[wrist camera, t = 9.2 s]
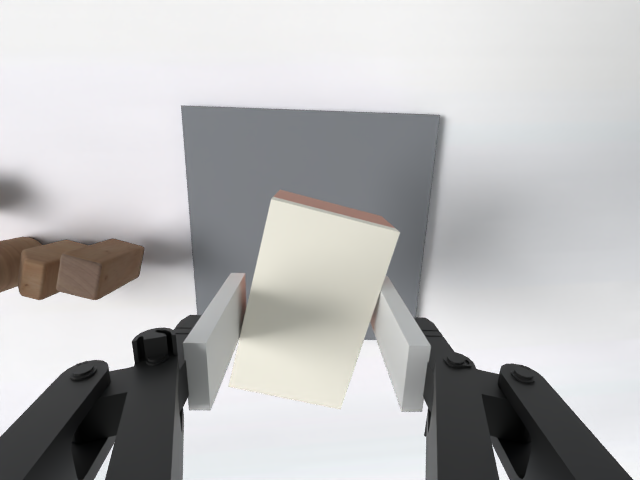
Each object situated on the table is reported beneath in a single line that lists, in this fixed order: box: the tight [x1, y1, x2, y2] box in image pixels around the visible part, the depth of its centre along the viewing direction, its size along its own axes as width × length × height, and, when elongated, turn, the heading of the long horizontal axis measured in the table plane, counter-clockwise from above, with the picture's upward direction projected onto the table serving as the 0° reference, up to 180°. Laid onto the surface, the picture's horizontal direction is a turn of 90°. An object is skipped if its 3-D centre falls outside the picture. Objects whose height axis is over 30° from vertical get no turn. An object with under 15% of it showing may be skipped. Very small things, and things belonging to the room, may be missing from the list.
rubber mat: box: [181, 106, 440, 340], centre depth 30 cm, size 22×22×1 cm
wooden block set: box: [0, 237, 144, 300], centre depth 25 cm, size 18×9×10 cm, turn 74°
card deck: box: [229, 190, 400, 409], centre depth 17 cm, size 6×10×4 cm, turn 165°
